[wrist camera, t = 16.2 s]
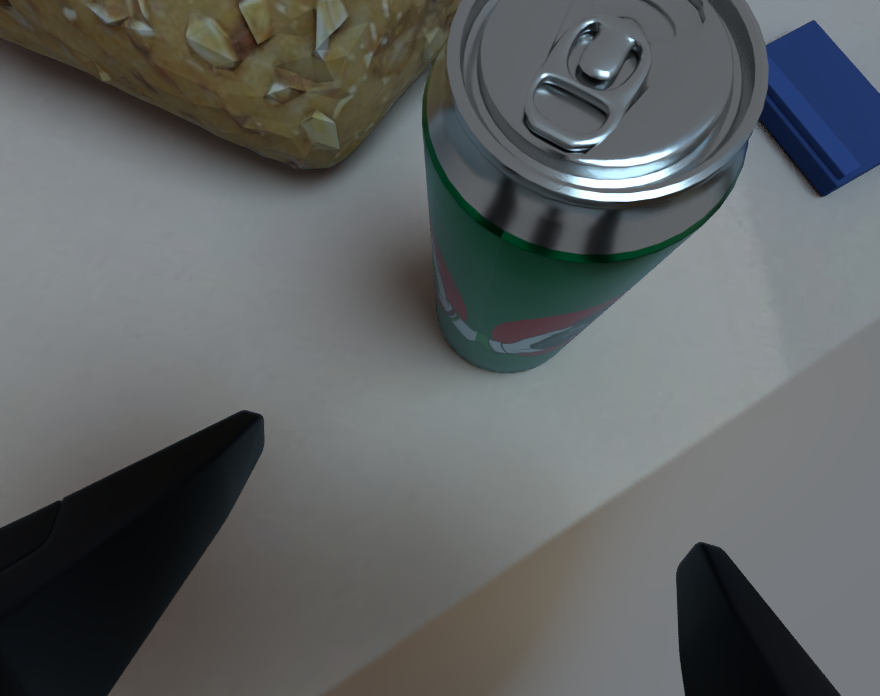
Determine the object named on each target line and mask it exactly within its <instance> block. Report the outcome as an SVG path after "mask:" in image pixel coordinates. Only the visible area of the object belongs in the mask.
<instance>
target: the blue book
mask: <svg viewBox="0 0 880 696" xmlns="http://www.w3.org/2000/svg"><path fill="white" fill-rule="evenodd" d="M766 51H767V58H768V65H769V71H768V89H767V94H766V98H765V102H764V107H763V110H762V112H761V115H760V117H759V119H760V120H761V121H762V123H763V124H764V125H765V126H766V128H767V129H768V130H769V131H770V132H771V134H772V135H773V136H774V137H775V139H776V140H777V141H778V142H779V144H780V145H781V146H782V147H783V148H784V150H785V151H786V152H787V153H788V155H789V156H790V157H791V158H792V160H793V161H794V162H795V163H796V164H797V166H798V167H799V168H800V169H801V171H802V172H803V173H804V174H805V176H806V177H807V178H808V179H809V180H810V182H811V183H812V184H813V185H814V187H815V188H816V189H817V190H818V192H819V193H820V194H821V195H822V196H826V195H828V194H829V193H831V192H833V191H835V190H836V189H838V188H840V187H842V186H843V185H845V184H847V183H848V182H850V181H852V180H854V179H855V178H857V177H859V176H861V175H862V174H864V173H866V172H868V171H869V170H871V169H873V168H874V167H876V166H878V165H880V94H879V93H878V92H877V90H876V89H875V88H874V87H873V86H872V85H871V84H870V82H869V81H868V80H867V79H866V78H865V77H864V76H863V75H862V73H861V72H860V71H859V70H858V69H857V68H856V67H855V65H854V64H853V63H852V62H851V61H850V60H849V59H848V58H847V56H846V55H845V54H844V53H843V52H842V51H841V50H840V49H839V47H838V46H837V45H836V44H835V43H834V42H833V41H832V39H831V38H830V37H829V36H828V35H827V34H826V33H825V32H824V30H823V29H822V28H821V27H820V26H819V25H818V24H817V22H816V21H814V20H813V21H811V22H809V23H807V24H805V25H803V26H801V27H799V28H798V29H796V30H794V31H792V32H790V33H788V34H786V35H785V36H783V37H781V38H779V39H777V40H775V41H773V42H771V43H770V44H768V45H766Z"/></svg>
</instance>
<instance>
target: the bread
mask: <svg viewBox="0 0 880 696" xmlns="http://www.w3.org/2000/svg"><path fill="white" fill-rule="evenodd" d="M461 1H462V0H0V38H2V39H4V40H7V41H10V42H12V43H15V44H17V45H19V46H22V47H24V48H26V49H29V50H32V51H34V52H37V53H39V54H42V55H45V56H47V57H50V58H53V59H55V60H57V61H60V62H62V63H65V64H67V65H70V66H72V67H75V68H77V69H80V70H82V71H85V72H87V73H89V74H90V75H92V76H94V77H95V78H97V79H99V80H101V81H103V82H105V83H108V84H110V85H112V86H114V87H116V88H118V89H120V90H122V91H124V92H126V93H128V94H130V95H132V96H134V97H137V98H139V99H141V100H144V101H146V102H148V103H150V104H153V105H155V106H157V107H159V108H162V109H164V110H166V111H168V112H170V113H172V114H174V115H176V116H179V117H181V118H183V119H185V120H187V121H189V122H191V123H193V124H195V125H198V126H200V127H202V128H203V129H205V130H207V131H208V132H210V133H212V134H213V135H215V136H218V137H220V138H223V139H225V140H228V141H230V142H233V143H235V144H238V145H240V146H243V147H245V148H248V149H250V150H252V151H254V152H256V153H257V154H259V155H261V156H263V157H266V158H270V159H274V160H278V161H281V162H283V163H285V164H287V165H289V166H291V167H293V168H295V169H314V168H330V167H332V166H334V165H335V164H337V163H339V162H340V161H342V160H344V159H345V158H346V157H347V156H348V155H349V154H350V153H352V152H353V151H354V150H355V149H356V148H357V147H358V146H359V145H360V144H361V143H362V141H363V140H364V139H365V138H366V137H367V136H368V135H369V134H370V132H371V131H372V130H373V129H374V128H375V127H376V126H377V125H378V124H379V122H380V121H381V120H382V119H383V118H384V116H385V115H386V114H387V112H388V111H389V110H390V108H391V107H392V105H393V104H394V103H395V102H396V101H397V100H398V99H399V97H400V96H401V95H402V94H403V93H404V92H405V91H406V90H407V89H408V87H409V86H410V85H411V84H412V83H413V82H414V81H415V80H416V79H417V77H418V76H419V75H420V74H421V73H422V72H423V71H424V70H425V68H426V67H427V66H428V65H429V64H430V63H431V62H432V61H433V60H434V58H435V57H436V55H437V53H438V52H439V50H440V49H441V47H442V45H443V44H444V42H445V40H446V39H447V37H448V34H449V30H450V27H451V24H452V22H453V19H454V16H455V14H456V11H457V9H458V6H459V4H460V3H461Z"/></svg>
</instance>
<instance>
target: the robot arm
mask: <svg viewBox="0 0 880 696" xmlns="http://www.w3.org/2000/svg"><path fill="white" fill-rule="evenodd" d="M263 448H264V418H263V416H262V415H260V414H258V413H254V412H251V411H247V410H243V411H240V412H237V413H235V414H233V415H231V416H229V417H227V418H225V419H223V420H221V421H219V422H217V423H215V424H213V425H211V426H209V427H207V428H205V429H203V430H201V431H199V432H197V433H195V434H193V435H191V436H189V437H187V438H185V439H183V440H180V441H178V442H176V443H174V444H172V445H170V446H168V447H166V448H164V449H162V450H160V451H158V452H156V453H154V454H152V455H150V456H148V457H146V458H144V459H142V460H140V461H138V462H136V463H134V464H132V465H130V466H128V467H125V468H123V469H121V470H119V471H117V472H115V473H113V474H111V475H109V476H107V477H105V478H103V479H101V480H99V481H97V482H95V483H93V484H91V485H89V486H87V487H85V488H83V489H81V490H79V491H77V492H75V493H73V494H70V495H68V496H66V497H64V498H63V500H62V501H60V500H58V501H56V502H54V503H52V504H50V505H48V506H46V507H44V508H42V509H40V510H38V511H36V512H33V513H31V514H29V515H27V516H25V517H23V518H21V519H19V520H16V521H14V522H12V523H10V524H8V525H6V526H4V527H1V528H0V696H107V695H108V694H109V693H110V691H111V690H112V688H113V687H114V685H115V684H116V682H117V681H118V679H119V678H120V676H121V675H122V673H123V672H124V670H125V669H126V667H127V666H128V664H129V663H130V661H131V660H132V658H133V657H134V656H135V654H136V653H137V651H138V650H139V648H140V647H141V645H142V644H143V642H144V641H145V639H146V638H147V636H148V635H149V633H150V632H151V630H152V629H153V627H154V626H155V624H156V623H157V621H158V620H159V618H160V617H161V616H162V614H163V613H164V611H165V610H166V608H167V607H168V605H169V604H170V602H171V601H172V599H173V598H174V596H175V595H176V593H177V592H178V590H179V589H180V587H181V586H182V584H183V583H184V581H185V580H186V579H187V577H188V576H189V574H190V573H191V571H192V570H193V568H194V567H195V565H196V564H197V562H198V561H199V559H200V558H201V556H202V555H203V553H204V552H205V550H206V549H207V547H208V546H209V544H210V543H211V542H212V540H213V539H214V537H215V536H216V534H217V533H218V531H219V530H220V528H221V527H222V525H223V524H224V522H225V520H226V519H227V517H228V515H229V514H230V512H231V510H232V508H233V506H234V505H235V503H236V501H237V499H238V497H239V495H240V493H241V491H242V489H243V488H244V486H245V484H246V482H247V480H248V478H249V476H250V474H251V472H252V470H253V469H254V467H255V465H256V463H257V461H258V459H259V457H260V455H261V453H262V451H263ZM676 585H677V610H678V635H679V652H680V662H681V671H682V677H683V684H684V690H685V696H841V695H840V694H839V693H838V691H837V690H836V689H835V688H834V686H833V685H832V684H831V683H830V681H829V680H828V679H827V678H826V676H825V675H824V674H823V673H822V671H821V670H820V669H819V668H818V666H817V665H816V664H815V663H814V662H813V660H812V659H811V658H810V657H809V655H808V654H807V653H806V652H805V650H804V649H803V648H802V647H801V645H800V644H799V643H798V642H797V640H796V639H795V638H794V637H793V636H792V634H791V633H790V632H789V631H788V629H787V628H786V627H785V626H784V624H783V623H782V622H781V621H780V620H779V618H778V617H777V616H776V615H775V613H774V612H773V611H772V609H771V608H770V607H769V606H768V605H767V603H766V602H765V601H764V600H763V598H762V597H761V596H760V595H759V593H758V592H757V591H756V590H755V588H754V587H753V586H752V585H751V583H750V582H749V581H748V580H747V579H746V577H745V576H744V575H743V574H742V572H741V571H740V570H739V569H738V567H737V566H736V565H735V564H734V562H733V561H732V560H731V559H730V557H729V556H728V555H727V554H726V553H725V552H724V551H723V550H722V549H721V548H719V547H717V546H714V545H710V544H707V543H703V542H699V543H697V544H695V545H694V547H693V548H692V549H691V550H690V552H689V553H688V554H687V555H686V557H685V558H684V559H683V560H682V561H681V563H680V564H679V566H678V569H677V573H676Z"/></svg>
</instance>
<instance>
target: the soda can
mask: <svg viewBox="0 0 880 696" xmlns="http://www.w3.org/2000/svg"><path fill="white" fill-rule="evenodd" d="M768 71H769V65H768V58H767V51H766V45H765V42H764V39H763V36H762V33H761V30H760V27H759V24H758V22H757V20H756V18H755V16H754V15H753V13H752V11H751V9H750V7H749V5H748V4H747V2H746V1H745V0H462V1H461V3H460V4H459V6H458V9H457V11H456V14H455V16H454V19H453V22H452V24H451V27H450V30H449V34H448V37H447V39H446V40H445V42H444V44H443V45H442V47H441V49H440V50H439V52H438V53H437V55H436V57H435V59H434V62H433V64H432V67H431V69H430V72H429V74H428V77H427V80H426V85H425V90H424V95H423V104H422V128H423V141H424V154H425V167H426V180H427V193H428V206H429V219H430V232H431V245H432V258H433V271H434V284H435V297H436V310H437V316H438V321H439V324H440V327H441V330H442V332H443V334H444V336H445V338H446V340H447V341H448V342H449V344H450V345H451V347H452V348H453V349H454V350H455V351H456V352H457V353H458V354H459V355H460V356H461V357H463V358H464V359H465V360H467V361H468V362H470V363H472V364H474V365H476V366H478V367H480V368H483V369H486V370H489V371H493V372H499V373H515V372H522V371H526V370H529V369H533V368H535V367H537V366H539V365H541V364H543V363H545V362H546V361H548V360H549V359H550V358H552V357H553V356H554V355H555V354H557V353H558V352H559V351H560V350H561V349H562V348H563V347H565V346H566V345H567V344H568V343H569V342H570V341H571V340H573V339H574V338H575V337H576V336H577V335H578V334H579V333H581V332H582V331H583V330H584V329H585V328H586V327H587V326H589V325H590V324H591V323H592V322H593V321H594V320H595V319H597V318H598V317H599V316H600V315H601V314H602V313H603V312H604V311H606V310H607V309H608V308H609V307H610V306H611V305H612V304H614V303H615V302H616V301H617V300H618V299H619V298H620V297H622V296H623V295H624V294H625V293H626V292H627V291H628V290H630V289H631V288H632V287H633V286H634V285H635V284H636V283H638V282H639V281H640V280H641V279H642V278H643V277H644V276H646V275H647V274H648V273H649V272H650V271H651V270H652V269H654V268H655V267H656V266H657V265H658V264H659V263H660V262H662V261H663V260H664V259H665V258H666V257H667V256H668V255H670V254H671V253H672V252H673V251H674V250H675V249H676V248H677V247H679V246H680V245H681V244H682V243H683V242H684V241H685V240H687V239H688V238H689V237H690V236H691V235H692V234H693V233H695V232H696V231H697V230H698V229H699V228H700V227H701V226H702V225H703V224H704V223H705V222H706V221H707V220H708V219H709V218H710V217H711V216H712V215H713V214H714V213H715V212H716V211H717V210H718V209H719V208H720V207H721V205H722V204H723V202H724V201H725V200H726V198H727V197H728V195H729V194H730V192H731V191H732V189H733V188H734V185H735V183H736V181H737V179H738V176H739V174H740V172H741V170H742V167H743V164H744V160H745V155H746V151H747V147H748V139H749V138H750V136H751V135H752V132H753V130H754V128H755V126H756V124H757V121H758V119H759V117H760V115H761V112H762V110H763V107H764V102H765V98H766V94H767V89H768Z"/></svg>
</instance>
